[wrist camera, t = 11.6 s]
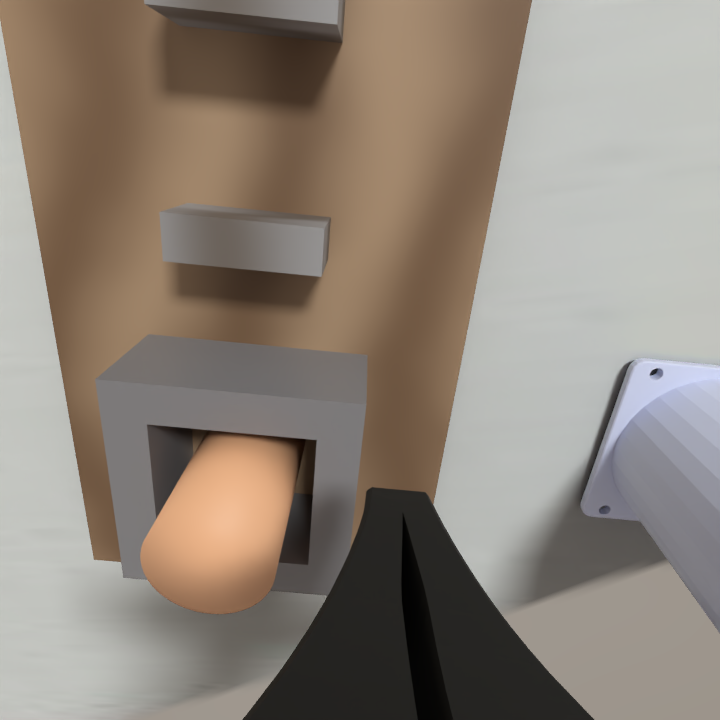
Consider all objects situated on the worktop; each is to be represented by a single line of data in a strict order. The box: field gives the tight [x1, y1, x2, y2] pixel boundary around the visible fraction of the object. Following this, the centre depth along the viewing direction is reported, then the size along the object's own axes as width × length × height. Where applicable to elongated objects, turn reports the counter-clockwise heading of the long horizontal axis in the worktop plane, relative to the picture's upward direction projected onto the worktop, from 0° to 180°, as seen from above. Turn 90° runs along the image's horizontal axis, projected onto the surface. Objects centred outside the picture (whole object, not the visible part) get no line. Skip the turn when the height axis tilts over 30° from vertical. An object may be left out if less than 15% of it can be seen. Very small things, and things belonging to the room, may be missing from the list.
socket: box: [95, 334, 368, 595], centre depth 19 cm, size 9×9×4 cm
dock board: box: [0, 0, 532, 562], centre depth 18 cm, size 16×26×4 cm, turn 175°
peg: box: [140, 430, 305, 614], centre depth 18 cm, size 4×4×7 cm
